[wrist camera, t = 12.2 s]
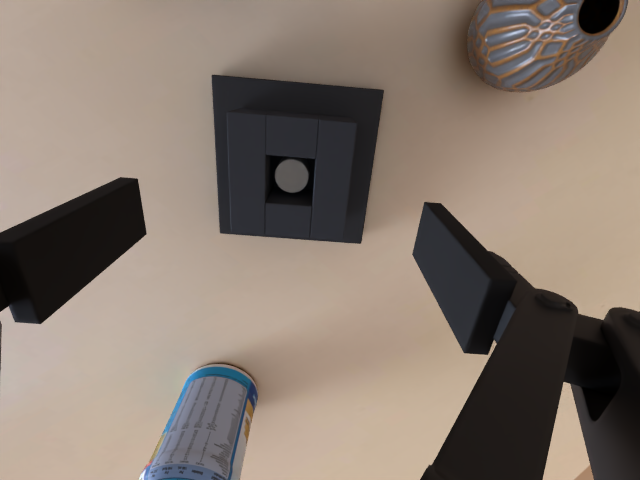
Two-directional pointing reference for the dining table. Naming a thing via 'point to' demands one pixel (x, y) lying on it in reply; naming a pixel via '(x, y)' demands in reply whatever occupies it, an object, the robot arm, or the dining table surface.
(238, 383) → the beverage bottle
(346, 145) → the dark grey square frame
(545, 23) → the vase
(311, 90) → the base pad
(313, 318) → the dining table surface
